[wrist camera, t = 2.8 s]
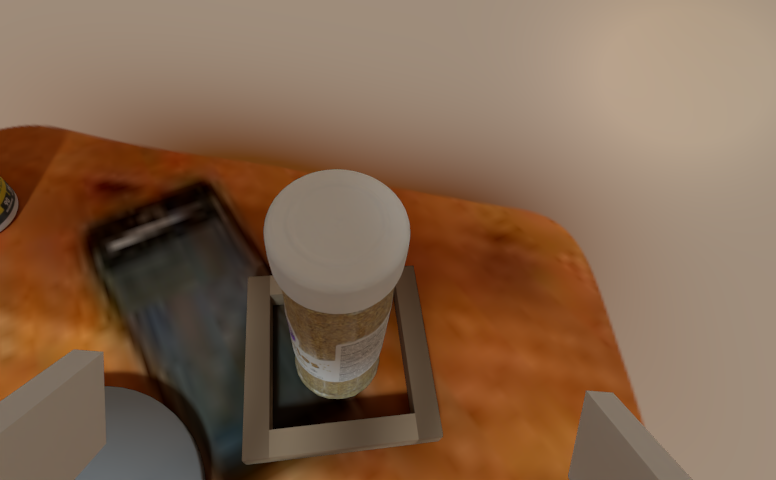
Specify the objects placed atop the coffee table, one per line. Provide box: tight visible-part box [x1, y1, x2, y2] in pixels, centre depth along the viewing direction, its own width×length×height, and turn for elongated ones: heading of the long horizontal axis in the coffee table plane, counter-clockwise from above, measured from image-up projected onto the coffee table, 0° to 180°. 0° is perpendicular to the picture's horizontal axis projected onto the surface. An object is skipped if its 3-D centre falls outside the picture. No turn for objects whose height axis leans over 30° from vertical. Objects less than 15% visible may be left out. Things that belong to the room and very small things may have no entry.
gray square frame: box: [242, 266, 443, 465], centre depth 25 cm, size 9×9×1 cm
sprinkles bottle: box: [264, 169, 410, 399], centre depth 20 cm, size 5×5×13 cm
